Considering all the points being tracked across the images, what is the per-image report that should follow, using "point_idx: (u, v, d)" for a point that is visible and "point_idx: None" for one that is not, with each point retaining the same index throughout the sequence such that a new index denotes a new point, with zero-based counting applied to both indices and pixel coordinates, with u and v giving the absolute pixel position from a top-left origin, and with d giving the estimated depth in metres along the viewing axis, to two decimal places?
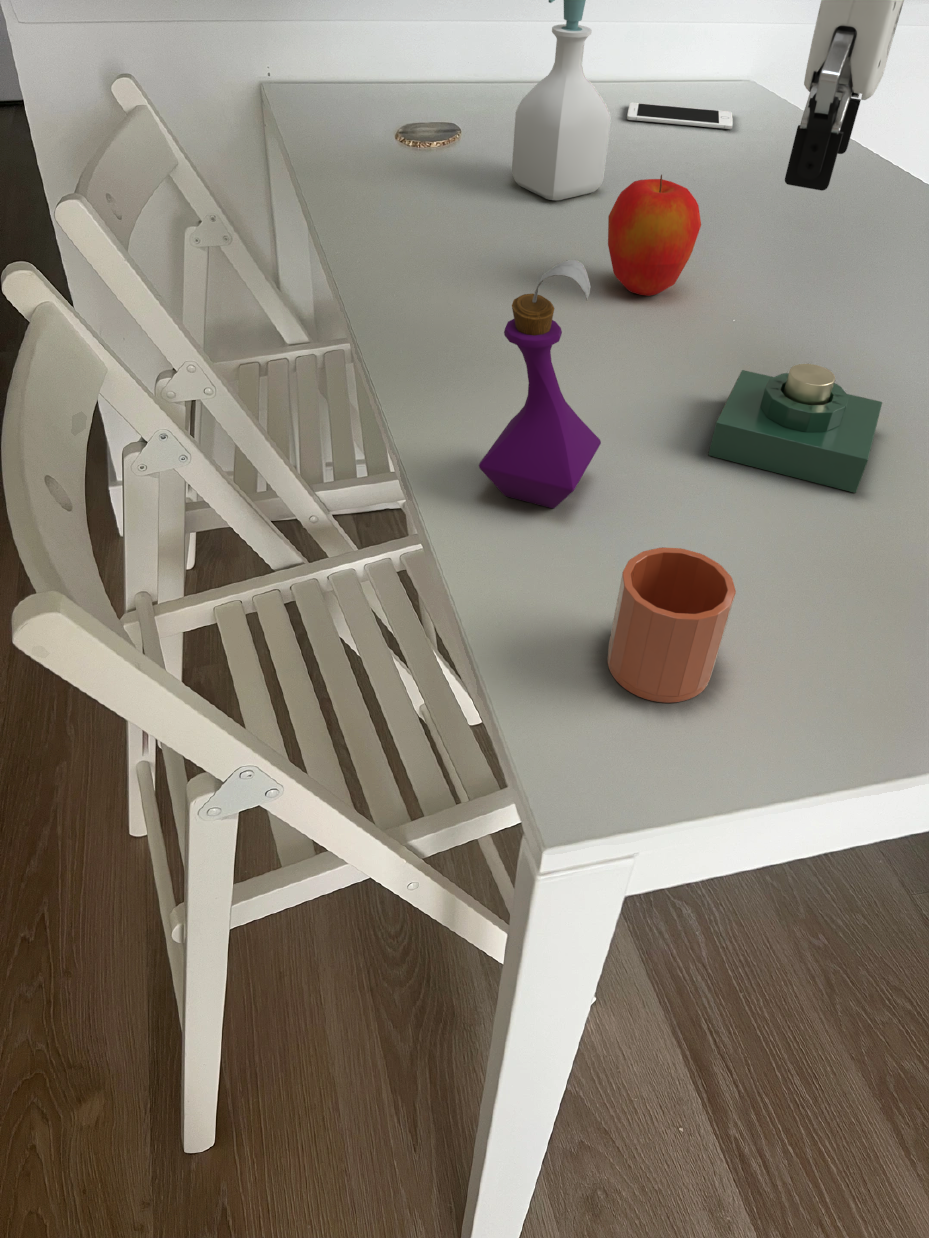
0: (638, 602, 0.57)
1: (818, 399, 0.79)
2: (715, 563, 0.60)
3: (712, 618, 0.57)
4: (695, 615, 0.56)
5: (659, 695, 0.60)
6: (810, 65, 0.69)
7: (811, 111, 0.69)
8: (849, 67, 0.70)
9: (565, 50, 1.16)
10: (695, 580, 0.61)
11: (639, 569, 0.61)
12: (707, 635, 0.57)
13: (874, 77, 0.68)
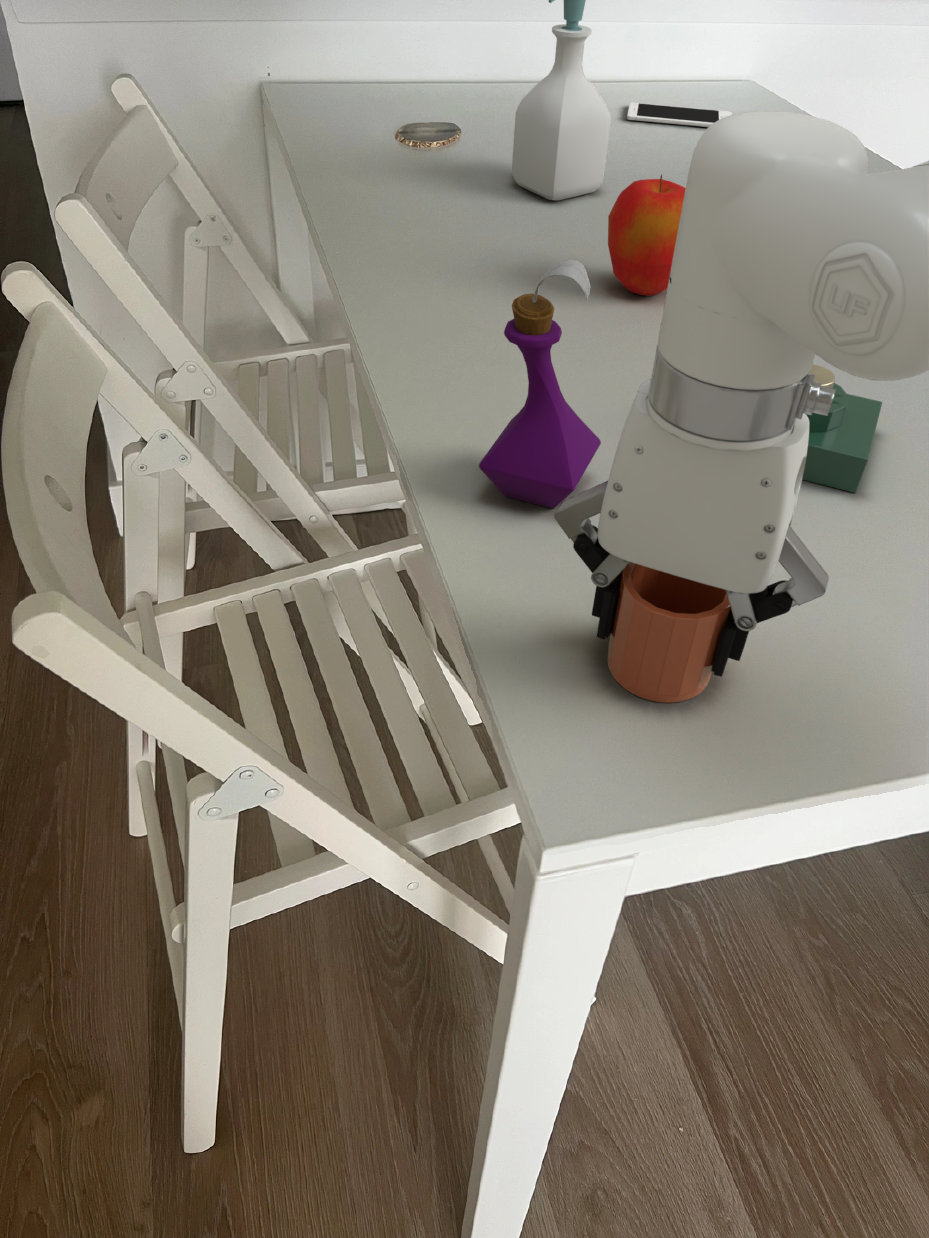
0: (638, 602, 0.57)
1: None
2: None
3: (712, 618, 0.57)
4: (695, 615, 0.56)
5: (659, 695, 0.60)
6: (769, 574, 0.54)
7: (785, 611, 0.56)
8: None
9: (565, 50, 1.16)
10: None
11: (639, 569, 0.61)
12: (707, 635, 0.57)
13: None
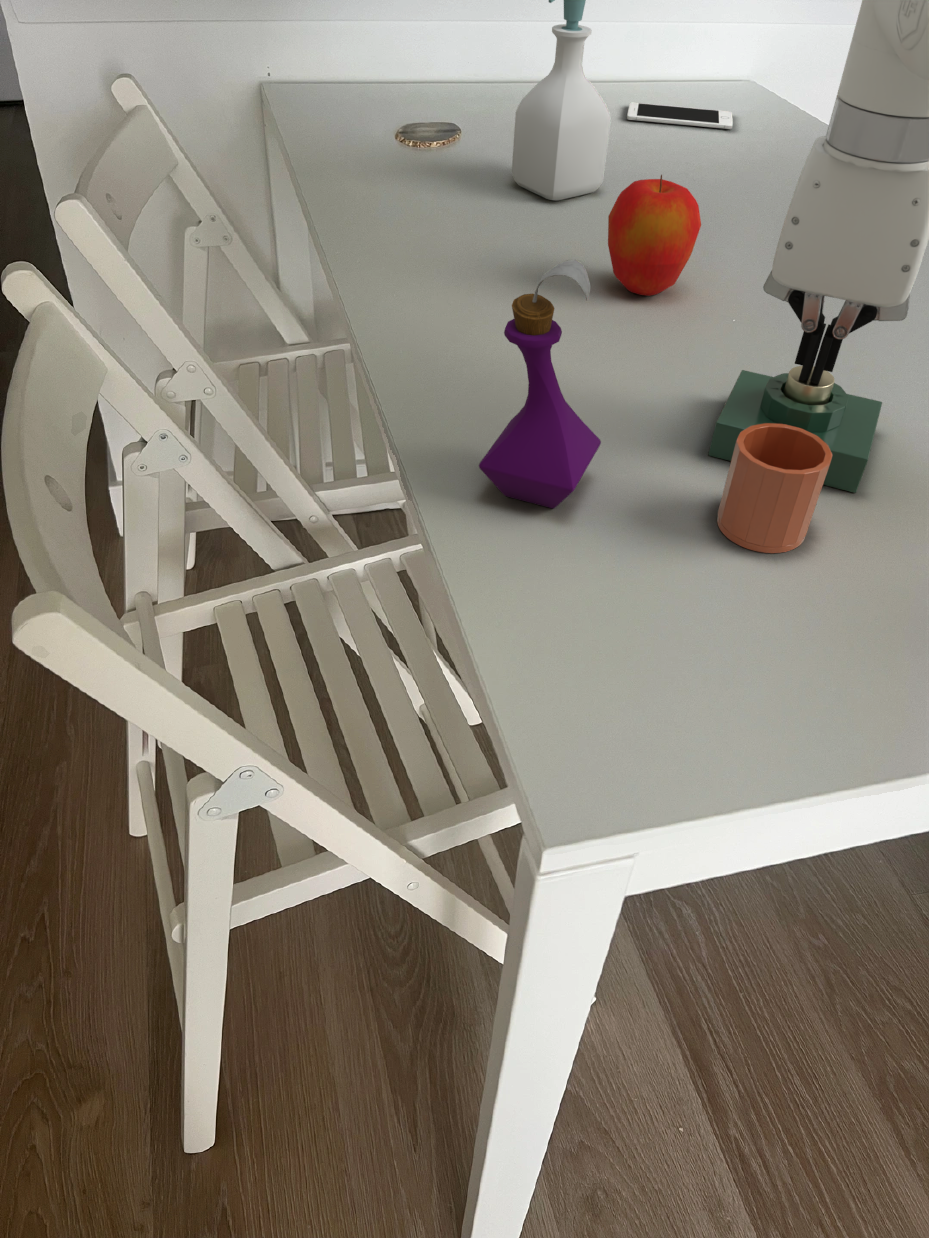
0: (753, 461, 0.69)
1: (817, 401, 0.79)
2: (812, 434, 0.72)
3: (815, 474, 0.68)
4: (801, 471, 0.68)
5: (765, 546, 0.72)
6: (910, 286, 0.71)
7: (871, 320, 0.74)
8: None
9: (565, 50, 1.16)
10: (794, 451, 0.73)
11: (748, 440, 0.72)
12: (809, 490, 0.69)
13: None
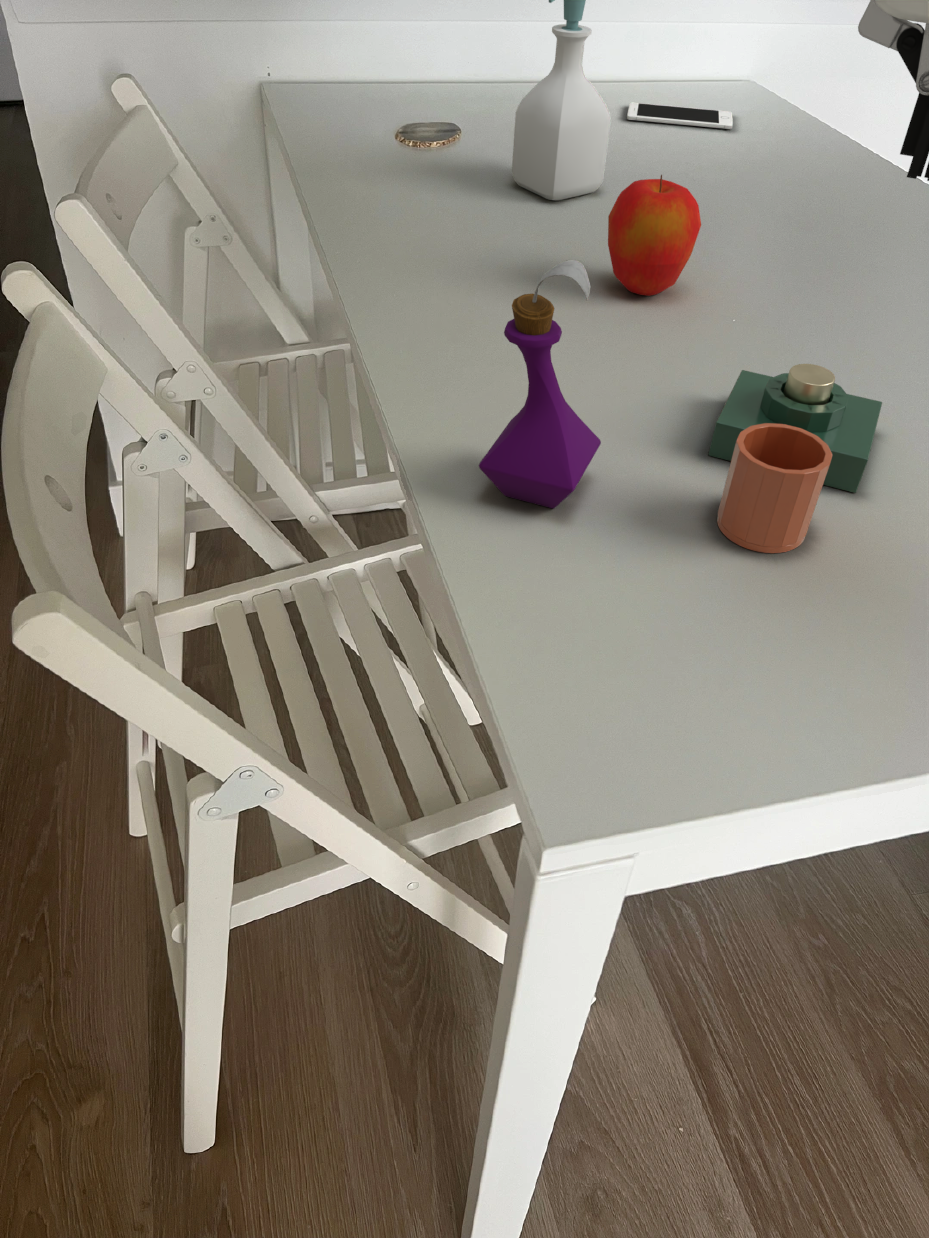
0: (753, 461, 0.69)
1: (818, 399, 0.79)
2: (812, 434, 0.72)
3: (815, 474, 0.68)
4: (801, 471, 0.68)
5: (765, 546, 0.72)
6: None
7: None
8: None
9: (565, 50, 1.16)
10: (794, 451, 0.73)
11: (748, 440, 0.72)
12: (809, 490, 0.69)
13: None
